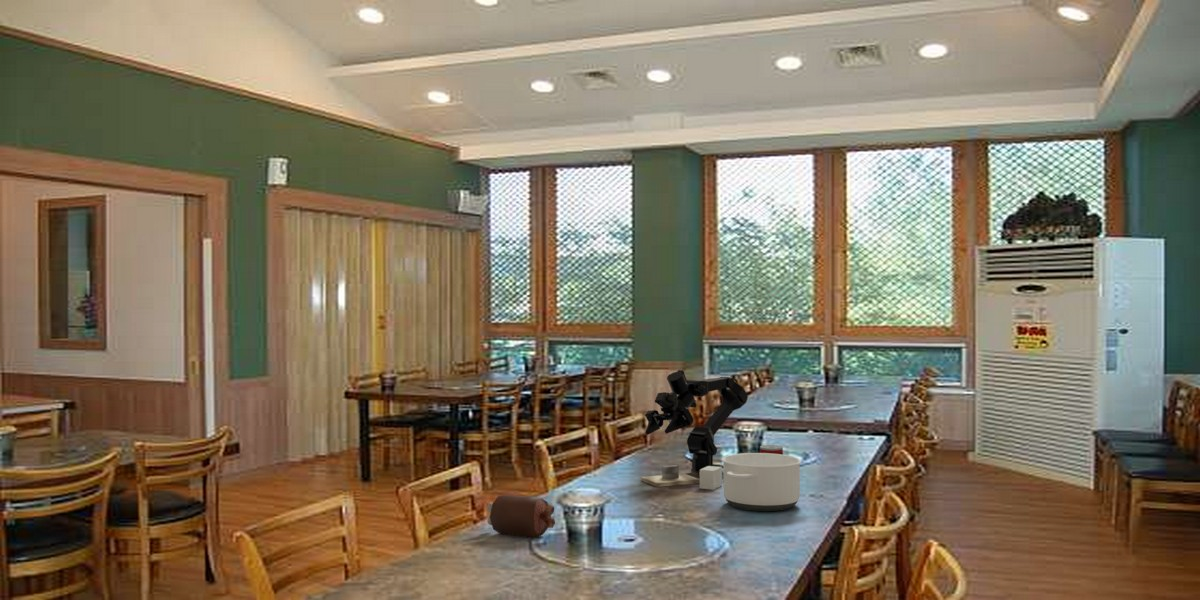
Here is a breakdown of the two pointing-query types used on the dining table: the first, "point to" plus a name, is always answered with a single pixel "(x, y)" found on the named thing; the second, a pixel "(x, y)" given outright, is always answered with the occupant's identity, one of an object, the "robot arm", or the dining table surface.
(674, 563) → the dining table surface
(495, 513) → the meat
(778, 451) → the canned food
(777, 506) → the pot
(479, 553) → the dining table surface
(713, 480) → the white rounded cube
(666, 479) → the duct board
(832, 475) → the dining table surface
